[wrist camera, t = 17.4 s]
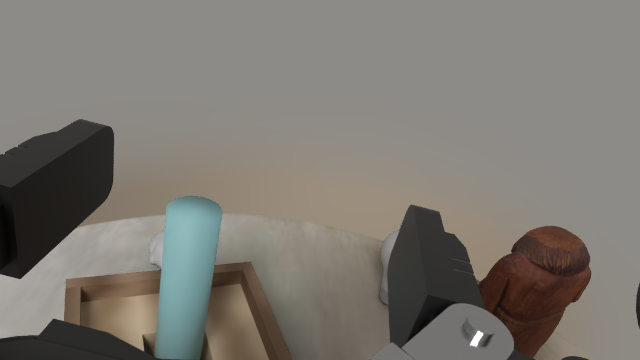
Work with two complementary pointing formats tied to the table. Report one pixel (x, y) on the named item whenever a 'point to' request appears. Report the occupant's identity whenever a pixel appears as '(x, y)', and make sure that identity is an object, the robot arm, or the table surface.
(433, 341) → the robot arm
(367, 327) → the table surface
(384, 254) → the lightbulb
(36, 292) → the table surface
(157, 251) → the pale two-lobed sculpture
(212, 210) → the peg
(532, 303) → the wooden figurine
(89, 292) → the box
